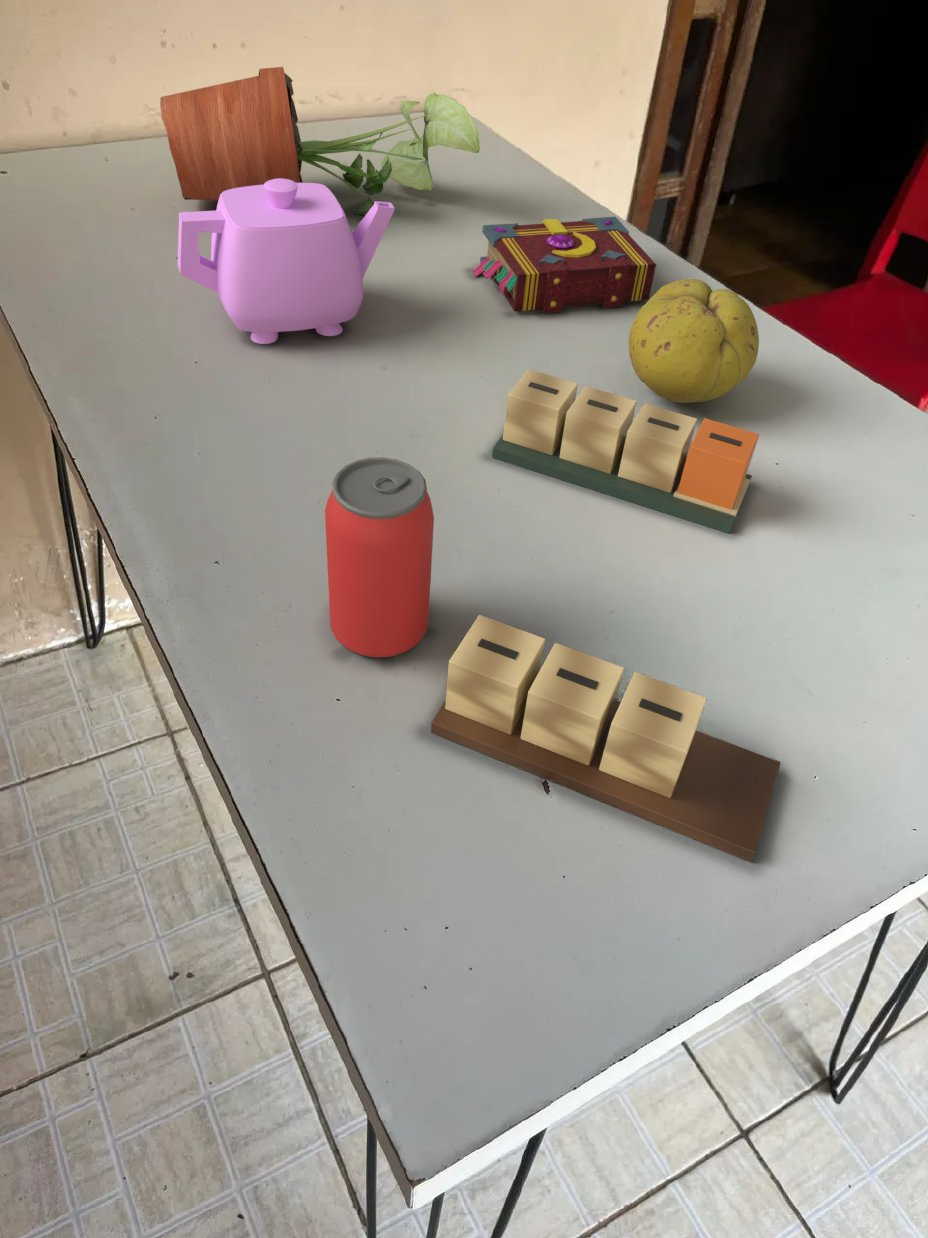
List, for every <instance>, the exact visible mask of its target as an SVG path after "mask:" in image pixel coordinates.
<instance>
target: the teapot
mask: <svg viewBox="0 0 928 1238" xmlns="http://www.w3.org/2000/svg"><path fill="white" fill-rule="evenodd" d="M394 212H395V206H394V205H393V203H392V202H388V201H378V200H376V201H375V200H374V201H373V206H372V208H371V209H370V210H369V211H368V213H367V214H366V215H364V216H363V217H362V219H361V220H360V222H359V223H358V224H357V226H356V227H355V228H354V229H353V231H352V229H351V226H350V224H349V221H348V218H347V216H346V213H345V210H344V208H343V207H342V205H341V204H340V202H339V201H338V199H337V197H336V196H335V194H334V193H333V192H332V191H331V189H329V187H327V185H325V184H322V183H318V182H316V183H315V182H303V183H296V182H294V181H292V180H289V179H282V178H279V179H272V180H269V181H267V182H265V183H264V185H255V186H246V187H240V188H234V189H229V190H226V191H224V192H222V193H221V194H220V197H219V201H217V205H216V209H215V210H200V211H199V210H197V211H179V212H178V238H177V239H178V240H177V241H178V242H177V267H178V271H179V275H181V276H182V277H184V278H187V279H188V280H191V281H193V282H195V283H197V284H199V285H200V286H203V287H205V288H207V289H209V290H212V291H214V292H215V293H216V294H217V297H218V299H219V301H220V303H221V304H222V306H223V308H224V310H225V312H226V314H227V315H228V317H229V318H230V320H231V322H232V323H233V325H234V326H235V327H236V328H237V329H238V330H241V331H244V332H249V333H250V340H251V341H252V342H254V343H255V344H258V345H259V344H261V345H268V344H272V343H275V342H276V341H277V340H278V339H279V333H281V332H295V331H304V330H312V329H315V332H316V333H317V334H319V335H321V336H326V337H335V336H338V335H340V334H341V333H342V332H343V326H342V325H341V323H345V322H348V321H350V320H352V319H354V318H355V317H356V316H357V314H358V312H359V310H360V308H361V306H362V304H363V299H364V280H363V279H364V277H365V275H366V272H367V270H368V268H369V266H370V264H371V262H372V260H373V258H374V255H375V254H376V251H377V249H378V247H379V245H380V242H381V240H382V238H383V236H384V234H385V232H386V229H387V227H388V225H389V223H390V221H391V219H392V216H393V214H394ZM199 233H209V234H211V239H210V240H211V241H210V259H209V258H207V257H205V256H203V255H202V254H201V255H200V253H201V251H200V238H199Z"/></svg>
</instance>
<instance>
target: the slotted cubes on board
mask: <svg viewBox="0 0 928 1238" xmlns="http://www.w3.org/2000/svg"><path fill="white" fill-rule="evenodd" d="M545 644H546V638H544V637H542V636H540V635H539V636H538V635H536V634H533V633H530V632H528V631H525V630H523V629H521V628H517V627H514V626H512V625H509V624H506V623H503V622H500V621H498V620H495V619H492V618H490V617H487V616H485V615H482V614H479V615H477V617H476V619H475V620H474V622H473V623H472V625H471V626H470V628H469V630H468V631H467V633H466V634H465V636H464V637H463V639H462V640H461V642H460V644H459V645H458V647H457V648H456V650H455V651H454V653H453V654H452V656H451V657H450V659H449V660H448V668H447V669H448V670H447V682H446V696H445V700H444V702H443V703H442V705H441V706H440V708H439V710H438V711H437V713H436V714H435V716H434V717H433V719H432V721H431V725H430V733H432V734H434V735H436V736H439V737H442V738H443V739H447V740H449V741H451V742H454V743H457V744H459V745H462V746H464V747H466V748H469V749H471V750H473V751H476V752H479V753H481V754H484V755H486V756H489V757H491V758H493V759H495V760H498V761H500V762H502V763H503V762H504V763H505V764H508V765H510V766H513V767H515V768H518V769H520V770H523V771H526V772H528V773H531V774H533V775H536V776H537V777H540V778H542V779H545V780H548V781H550V782H552V783H555V784H558V785H560V786H562V787H565V788H567V789H569V790H572V791H575V792H576V793H579V794H582V795H585V796H587V797H590V798H591V799H595V800H597V801H600V802H602V803H605V804H606V805H609V806H612V807H614V808H616V809H619V810H622V811H624V812H627V813H629V814H631V815H633V816H637V817H639V818H641V819H644V820H646V821H649V822H651V823H654V824H657V825H658V826H661V827H664V828H666V829H669V830H671V831H674V832H676V833H678V834H681V835H684V836H686V837H688V838H691V839H693V840H695V841H698V842H700V843H703V844H705V845H708V846H710V847H713V848H715V849H717V850H719V851H720V850H721V851H723V852H725V853H728V854H730V855H732V856H735V857H737V858H740V859H742V860H745V861H747V862H752V861H753V860H754V858H755V855H756V853H757V850H758V846H759V844H760V843H759V842H760V840H761V836H762V832H763V830H764V829H763V828H764V825H765V821H766V818H767V814H768V810H769V806H770V803H771V799H772V795H773V792H774V789H775V785H776V782H777V778H778V774H779V770H780V767H781V764H782V763H781V761H779V760H776V759H774V758H771V757H768V756H766V755H763V754H760V753H757V752H755V751H752V750H749V749H748V748H745V747H742V746H739V745H736V744H734V743H730V742H728V741H726V740H723V739H721V738H718V737H714V736H712V735H710V734H708V733H705V732H702V731H699V730H697V728H698V726H699V723H700V720H701V717H702V716H703V712H704V710H705V706H706V704H707V702H708V698H707V697H705V696H702V695H700V694H697V693H695V692H693V691H689V690H687V689H684V688H681V687H678V686H675V685H673V684H670V683H667V682H664V681H662V680H659V679H656V678H654V677H651V676H648V675H646V674H643V673H640V672H638V671H634V673H633V675H632V677H631V679H630V681H629V683H628V685H627V687H626V690H625V692H624V694H623V697H622V699H621V701H619V700H617V698H618V694H619V692H620V687H621V683H622V679H623V676H624V673H625V667H624V666H621V665H618V664H615V663H613V662H610V661H608V660H604V659H602V658H600V657H597V656H593V655H591V654H589V653H586V652H582V651H580V650H577V649H574V648H571V647H569V646H567V645H564V644H560V643H559V642H555V643H554V644H553V646H552V648H551V649H550V651H549V653H548V655H547V657H546V659H545V660H544V662H543V664H542V661H543V656H544V649H545Z"/></svg>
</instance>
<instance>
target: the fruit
mask: <svg viewBox="0 0 928 1238" xmlns="http://www.w3.org/2000/svg"><path fill="white" fill-rule="evenodd" d="M759 346H760V336H759V328H758V324H757V321H756V318H755V315H754V313H753V311H752V309H751V307H750V306H749V304H748V303H747V301H745V299H743V298H742V297H740V296H739V294H737V293H736V292H734V291H732V290H730V289H727V288H718V289H715V290H712V288H711V286H710V285H709V284H708V283H707V282H705V281H704V280H701V279H698V278H686V279H678V280H677V279H676V280H674V281H671V282H669V283H666V284H665V285H663V286H661V287H660V288H659V289H658V290H657V291H656V292H655V293H654V294H653V295H652V296H651V297H649V300H647V302H646V303H645V304H643V305H642V306H641V308H639V310H638V312H637V314H636V316H635V318H634V320H633V322H632V324H631V327H630V330H629V336H628V352H629V359H630V363H631V367H632V369H633V371H634V373H635V374H636V376H637V378H638V379H639V380H640V382H641V383H643V384H644V385H645V386H646V387H647V388H648V389H649V390H651V391H652V392H653V393H655V395H657V396H659V397H661V398H662V399H665V400H667V401H670V402H671V401H672V402H675V403H683V404H684V403H687V404H688V403H703V402H709V401H713V400H716V399H718V398H720V397H722V396H725V395H726V394H727V393H728V392H730V391H731V390H732V389H733V388H735V387H737V386H739V384H740V383H741V382H742V381H743V380H744V379H746V378H747V377H748V375H749V374H750V373H751V371H752V370H753V368H754V366H755V365H756V361H757V358H758V353H759Z"/></svg>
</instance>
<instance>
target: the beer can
mask: <svg viewBox="0 0 928 1238" xmlns="http://www.w3.org/2000/svg"><path fill="white" fill-rule="evenodd" d="M426 481H427V480H426V479H425V477H424V476H423V474H422V473H421V471H419V470H418V469H416V468H415V467H414V466H412V465H411V464H410V463H407V462H406V461H405V462H404V461H402V460H399V459H397V458H390V457H384V456H383V457H380V456H379V457H377V456H376V457H366V458H362V459H358V460H354V461H353V462H350V463H349V464H346V465H345V466H342V468H340V470H339V471H338V472H337V473H335V476H334V477H333V480H332V482H331V488H332V489H331V492H330V494H329V496H328V498H327V501H326V504H325V508H324V522H325V524H324V525H325V541H326V542H325V544H326V564H327V565H326V567H327V582H328V584H327V585H328V586H327V587H328V605H329V607H328V608H329V624H330V626H329V627H330V630H331V632H332V634H333V636H334V638H335V639H336V641H338V642H339V643H340V644H341V645H342V646H343V647H344V648H345V649H346V650H349V651H351V652H353V653H355V654H357V655H359V656H364V657H370V658H375V659H376V658H390V657H394V656H397V655H401V654H404V653H407V651H410V650H411V649H412V648H414V647H415V646H417V645H418V643H419V642H421V640H422V639H423V637H424V636H425V635H426V632H427V629H428V625H429V619H430V618H429V617H430V603H431V602H430V600H431V599H430V598H431V582H432V581H431V580H432V565H433V564H432V563H433V545H434V543H433V542H434V524H435V516H434V510H433V505H432V501H431V497H430V495H429V492H428V487H427V482H426Z"/></svg>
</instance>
